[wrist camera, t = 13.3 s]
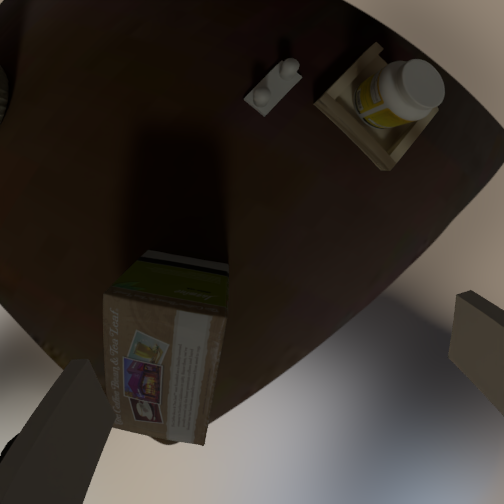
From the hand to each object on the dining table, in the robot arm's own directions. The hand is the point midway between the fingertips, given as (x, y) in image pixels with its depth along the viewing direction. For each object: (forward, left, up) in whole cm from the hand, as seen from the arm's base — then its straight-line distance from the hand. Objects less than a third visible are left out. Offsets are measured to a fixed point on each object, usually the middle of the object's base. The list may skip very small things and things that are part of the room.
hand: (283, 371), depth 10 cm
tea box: (+9, -10, -27) cm, 30 cm away
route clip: (-15, +5, -27) cm, 31 cm away
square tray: (-12, +17, -27) cm, 34 cm away
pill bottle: (-12, +17, -26) cm, 33 cm away
